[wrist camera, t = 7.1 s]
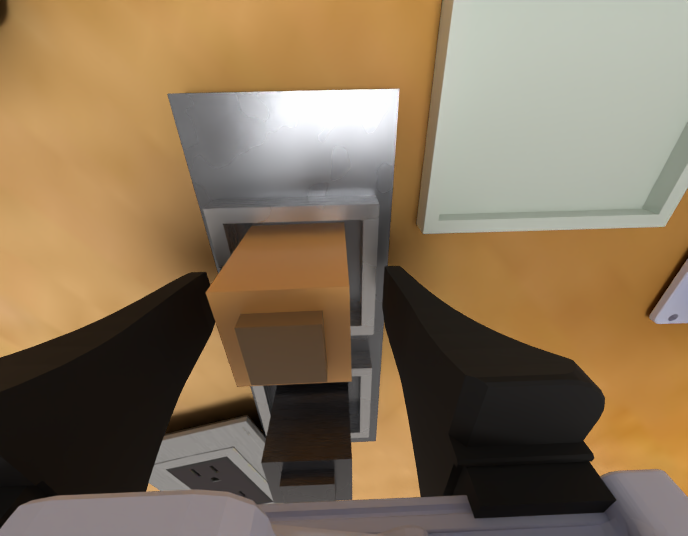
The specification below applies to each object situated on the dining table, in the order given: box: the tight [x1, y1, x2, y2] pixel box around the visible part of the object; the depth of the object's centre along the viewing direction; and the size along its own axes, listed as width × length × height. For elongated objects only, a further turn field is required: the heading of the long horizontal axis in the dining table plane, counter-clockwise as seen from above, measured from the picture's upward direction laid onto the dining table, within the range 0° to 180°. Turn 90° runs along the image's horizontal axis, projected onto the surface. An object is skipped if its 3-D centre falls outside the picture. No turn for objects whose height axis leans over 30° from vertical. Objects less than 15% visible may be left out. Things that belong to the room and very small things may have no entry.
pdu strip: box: [167, 89, 399, 503], centre depth 13 cm, size 22×8×7 cm, turn 1°
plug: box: [206, 222, 352, 387], centre depth 11 cm, size 4×4×6 cm
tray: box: [416, 0, 688, 234], centre depth 11 cm, size 11×9×1 cm
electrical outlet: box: [149, 415, 279, 504], centre depth 23 cm, size 13×10×2 cm
